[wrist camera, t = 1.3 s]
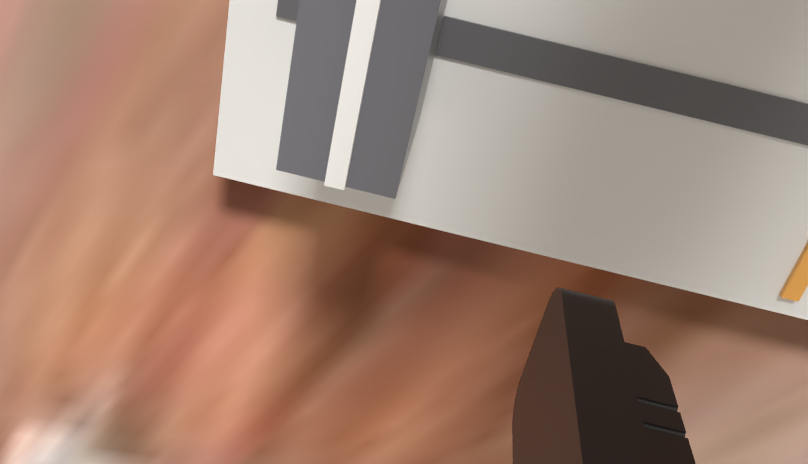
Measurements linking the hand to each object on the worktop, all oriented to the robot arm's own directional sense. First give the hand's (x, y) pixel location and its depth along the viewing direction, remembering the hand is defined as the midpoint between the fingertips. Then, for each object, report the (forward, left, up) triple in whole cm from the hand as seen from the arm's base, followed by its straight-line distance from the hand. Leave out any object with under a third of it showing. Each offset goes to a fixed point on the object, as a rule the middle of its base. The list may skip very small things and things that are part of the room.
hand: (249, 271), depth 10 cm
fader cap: (0, 0, -14) cm, 14 cm away
